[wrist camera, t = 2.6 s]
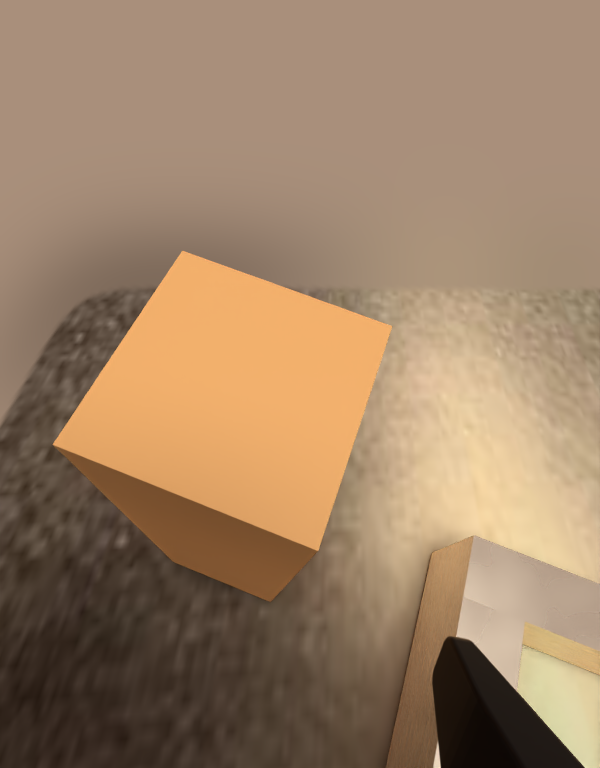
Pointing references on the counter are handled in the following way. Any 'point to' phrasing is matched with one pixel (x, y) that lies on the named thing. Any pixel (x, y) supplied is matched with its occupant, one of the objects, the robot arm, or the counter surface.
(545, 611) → the white peg board
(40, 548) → the counter surface
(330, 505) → the orange post
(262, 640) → the counter surface
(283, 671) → the counter surface
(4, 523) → the counter surface
